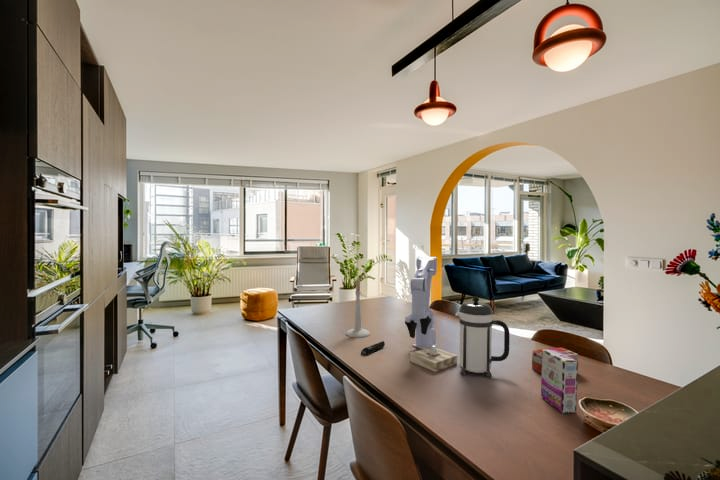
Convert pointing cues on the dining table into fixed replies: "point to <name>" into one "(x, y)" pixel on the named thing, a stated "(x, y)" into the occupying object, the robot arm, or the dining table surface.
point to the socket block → (433, 359)
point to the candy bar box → (559, 380)
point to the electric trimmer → (372, 348)
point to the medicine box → (538, 357)
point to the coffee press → (478, 337)
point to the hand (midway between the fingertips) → (418, 335)
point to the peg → (433, 350)
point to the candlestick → (357, 318)
